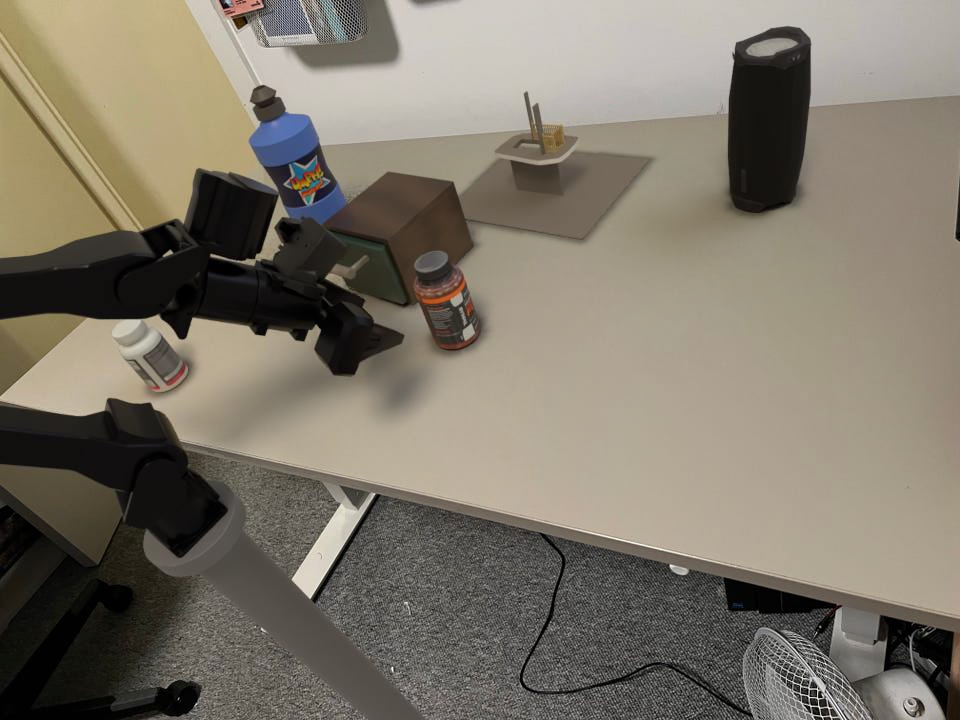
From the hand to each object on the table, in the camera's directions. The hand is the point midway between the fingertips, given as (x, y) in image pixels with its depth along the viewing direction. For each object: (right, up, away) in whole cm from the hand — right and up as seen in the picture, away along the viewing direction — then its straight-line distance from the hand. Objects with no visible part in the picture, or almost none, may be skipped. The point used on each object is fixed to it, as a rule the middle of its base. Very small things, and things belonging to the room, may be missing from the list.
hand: (382, 320), depth 70 cm
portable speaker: (+48, +17, +12) cm, 52 cm away
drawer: (-1, +7, +19) cm, 20 cm away
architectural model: (+21, +22, +28) cm, 41 cm away
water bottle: (-13, +15, +33) cm, 38 cm away
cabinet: (+1, +9, +21) cm, 23 cm away
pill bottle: (-31, -7, +16) cm, 36 cm away
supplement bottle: (+8, -1, +8) cm, 12 cm away
